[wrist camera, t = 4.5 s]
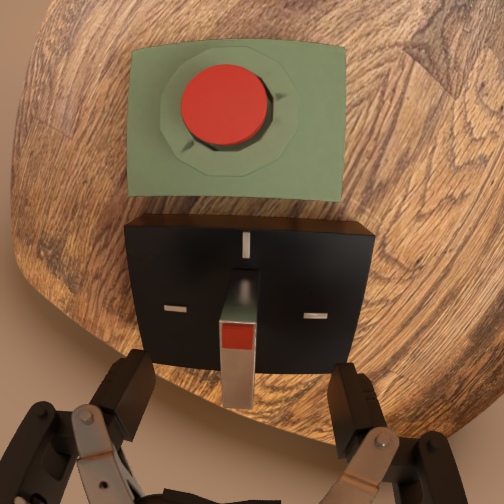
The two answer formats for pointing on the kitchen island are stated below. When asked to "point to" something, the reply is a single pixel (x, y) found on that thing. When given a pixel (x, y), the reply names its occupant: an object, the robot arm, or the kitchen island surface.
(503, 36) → the kitchen island surface
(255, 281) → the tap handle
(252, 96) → the button
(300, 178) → the block
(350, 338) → the base
